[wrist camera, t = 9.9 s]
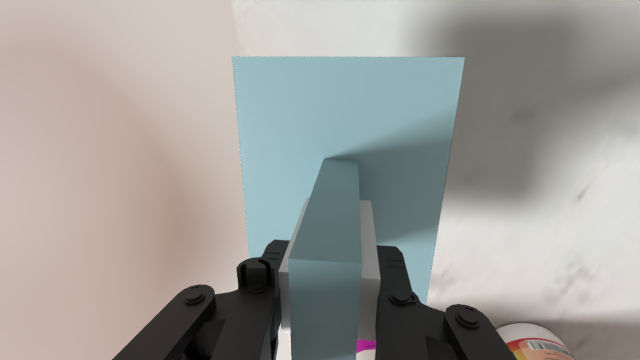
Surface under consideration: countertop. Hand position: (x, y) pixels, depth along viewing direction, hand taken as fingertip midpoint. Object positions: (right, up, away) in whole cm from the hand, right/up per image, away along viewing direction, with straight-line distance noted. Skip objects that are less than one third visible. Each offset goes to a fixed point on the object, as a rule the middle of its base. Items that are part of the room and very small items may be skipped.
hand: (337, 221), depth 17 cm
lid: (0, +1, +3) cm, 3 cm away
